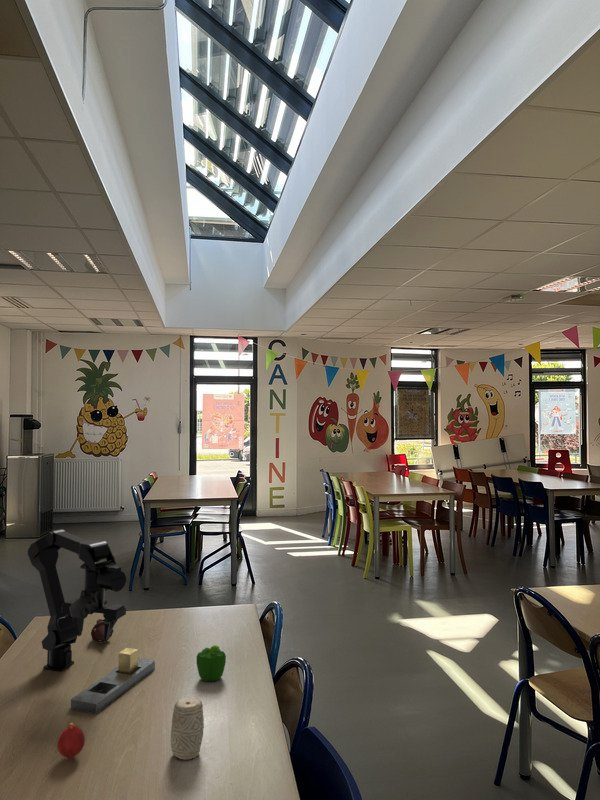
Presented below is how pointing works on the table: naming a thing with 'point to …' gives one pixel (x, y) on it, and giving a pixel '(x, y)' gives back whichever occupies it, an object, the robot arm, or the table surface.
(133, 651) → the brass peg
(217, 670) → the bell pepper
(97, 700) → the rail
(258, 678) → the table surface
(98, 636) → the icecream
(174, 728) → the carving
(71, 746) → the onion
